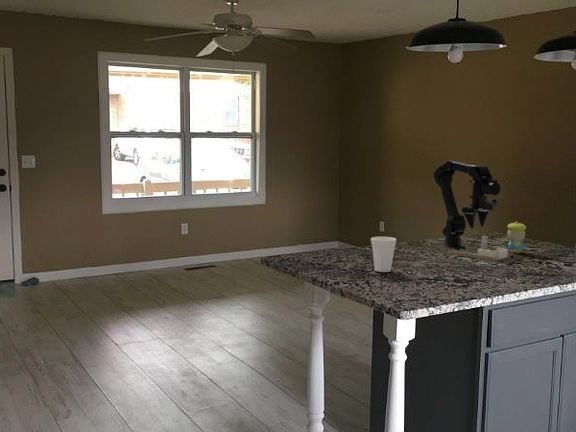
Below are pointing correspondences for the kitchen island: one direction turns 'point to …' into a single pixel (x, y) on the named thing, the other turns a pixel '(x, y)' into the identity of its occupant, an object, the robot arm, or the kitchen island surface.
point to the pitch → (473, 253)
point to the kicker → (483, 246)
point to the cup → (383, 252)
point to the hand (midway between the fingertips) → (477, 227)
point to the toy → (516, 237)
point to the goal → (498, 253)
